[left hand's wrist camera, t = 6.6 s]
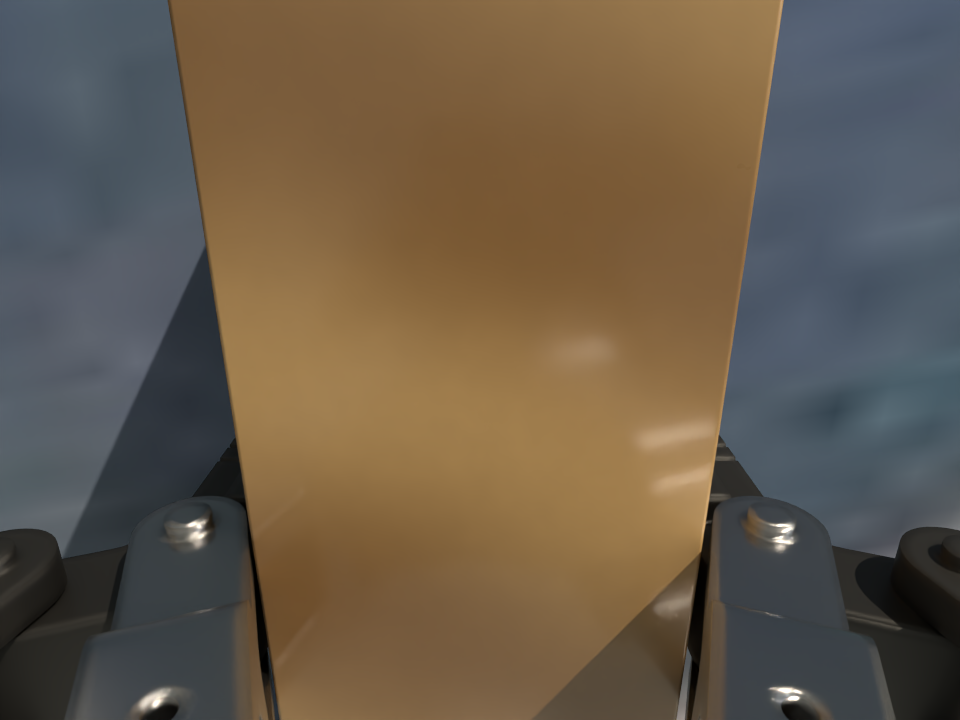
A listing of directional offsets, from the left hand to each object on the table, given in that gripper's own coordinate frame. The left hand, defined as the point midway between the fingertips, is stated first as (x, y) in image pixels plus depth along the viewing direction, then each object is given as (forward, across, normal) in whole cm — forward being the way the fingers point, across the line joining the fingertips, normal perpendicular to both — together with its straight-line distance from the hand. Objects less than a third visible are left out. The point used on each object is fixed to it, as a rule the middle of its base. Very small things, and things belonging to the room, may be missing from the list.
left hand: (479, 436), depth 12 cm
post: (+2, 0, -19) cm, 19 cm away
